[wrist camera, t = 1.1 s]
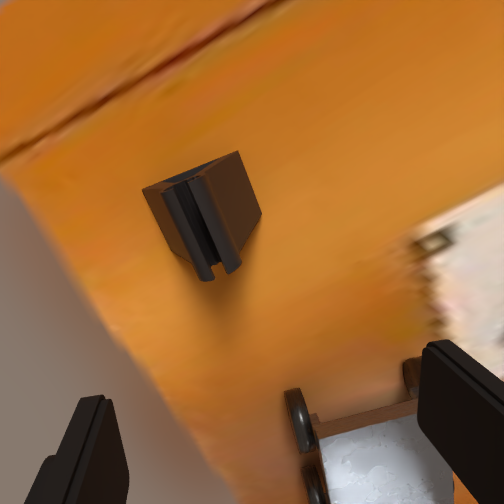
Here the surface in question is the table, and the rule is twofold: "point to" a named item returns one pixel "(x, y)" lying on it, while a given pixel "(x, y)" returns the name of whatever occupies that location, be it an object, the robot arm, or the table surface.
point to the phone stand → (206, 213)
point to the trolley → (372, 453)
